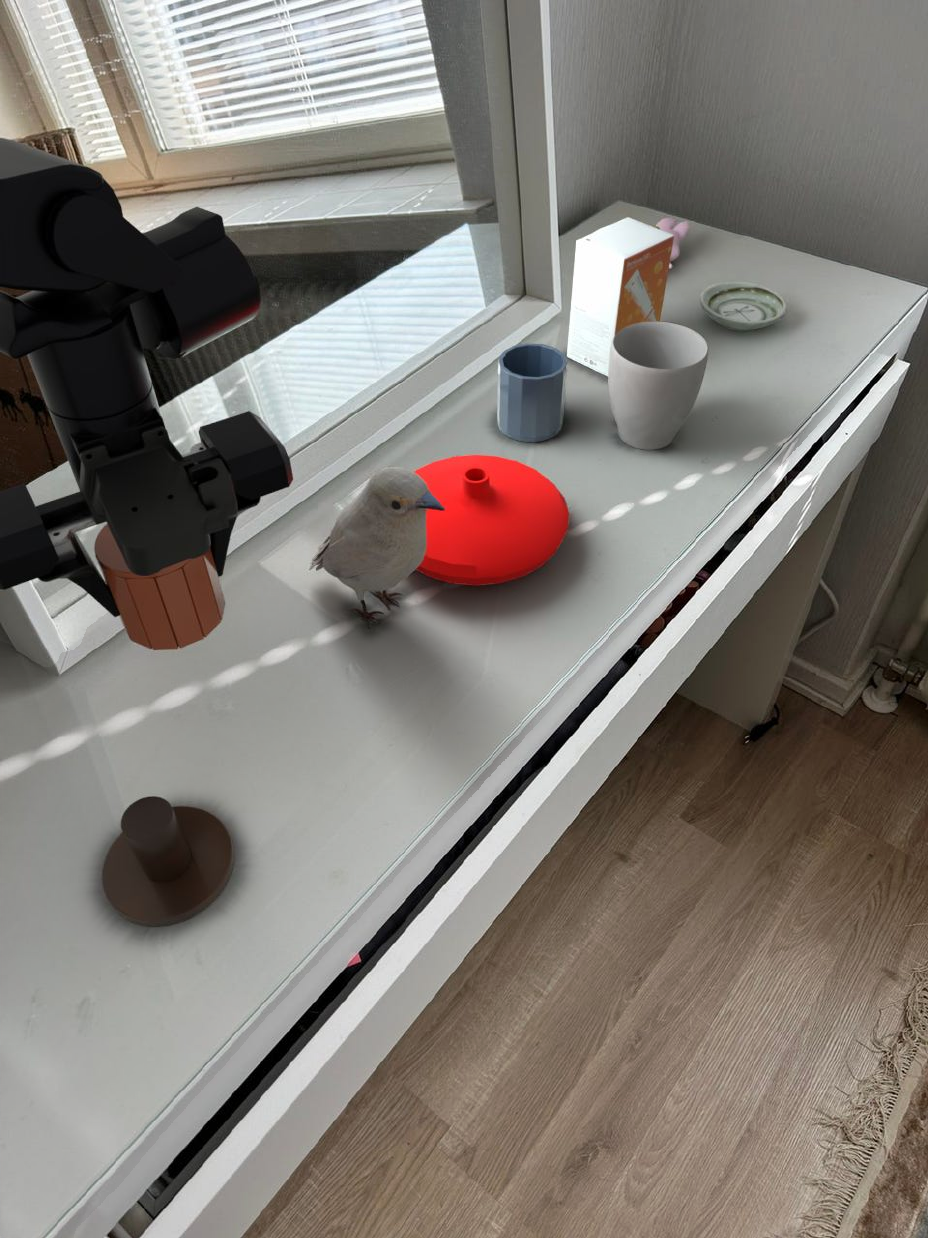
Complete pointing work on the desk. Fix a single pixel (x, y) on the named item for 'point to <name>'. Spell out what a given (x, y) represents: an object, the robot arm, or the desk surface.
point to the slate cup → (531, 392)
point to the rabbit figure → (678, 234)
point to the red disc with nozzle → (490, 520)
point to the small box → (615, 287)
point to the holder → (166, 862)
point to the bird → (379, 535)
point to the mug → (654, 380)
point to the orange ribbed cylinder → (163, 597)
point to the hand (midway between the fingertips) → (167, 592)
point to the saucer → (743, 305)
